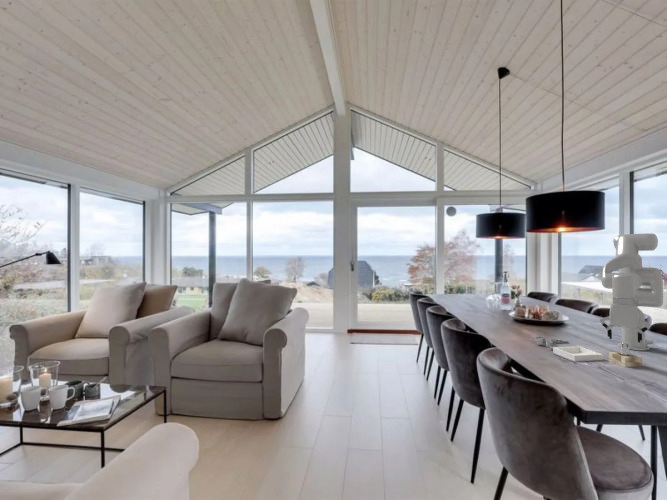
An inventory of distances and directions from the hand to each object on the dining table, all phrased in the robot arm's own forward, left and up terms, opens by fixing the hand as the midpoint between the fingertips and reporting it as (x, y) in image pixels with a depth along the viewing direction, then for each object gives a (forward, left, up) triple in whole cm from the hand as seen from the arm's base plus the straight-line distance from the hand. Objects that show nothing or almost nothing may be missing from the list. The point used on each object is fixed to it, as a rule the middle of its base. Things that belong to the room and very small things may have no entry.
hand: (624, 340), depth 152 cm
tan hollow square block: (0, 0, -12) cm, 12 cm away
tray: (+12, -13, -12) cm, 21 cm away
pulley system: (+7, -38, -12) cm, 41 cm away
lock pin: (0, 0, -11) cm, 11 cm away
